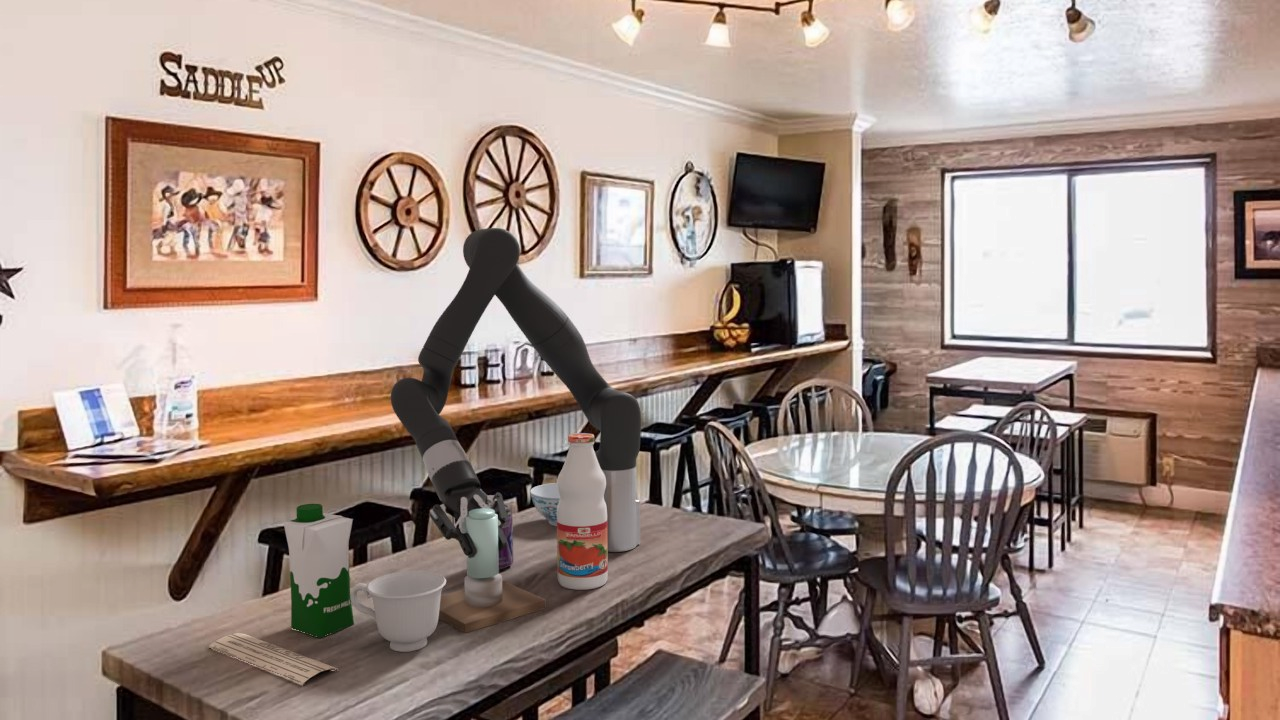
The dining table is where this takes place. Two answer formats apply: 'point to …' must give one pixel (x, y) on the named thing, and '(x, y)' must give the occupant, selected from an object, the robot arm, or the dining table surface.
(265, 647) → the newspaper
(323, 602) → the milk carton
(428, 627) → the teacup
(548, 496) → the chinaware
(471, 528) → the pale green cylinder
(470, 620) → the stud base
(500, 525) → the robot arm
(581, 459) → the strawberry yogurt bottle
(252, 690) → the dining table surface
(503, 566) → the beverage can
